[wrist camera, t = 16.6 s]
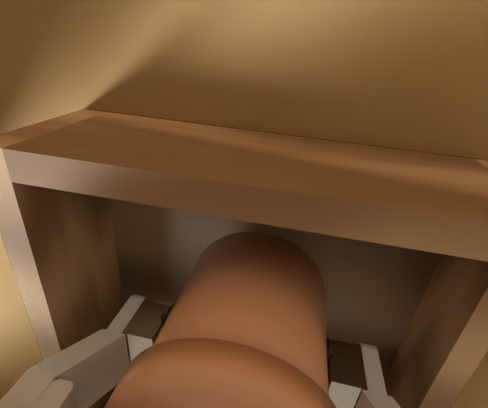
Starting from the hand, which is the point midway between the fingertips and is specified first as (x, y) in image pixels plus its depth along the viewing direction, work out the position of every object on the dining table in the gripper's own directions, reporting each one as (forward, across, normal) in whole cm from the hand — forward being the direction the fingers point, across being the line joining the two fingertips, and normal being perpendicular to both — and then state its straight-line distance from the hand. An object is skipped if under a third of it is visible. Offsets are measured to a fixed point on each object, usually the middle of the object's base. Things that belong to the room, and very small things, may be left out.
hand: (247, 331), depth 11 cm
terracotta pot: (+2, 0, 0) cm, 2 cm away
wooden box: (+4, 0, +3) cm, 6 cm away
